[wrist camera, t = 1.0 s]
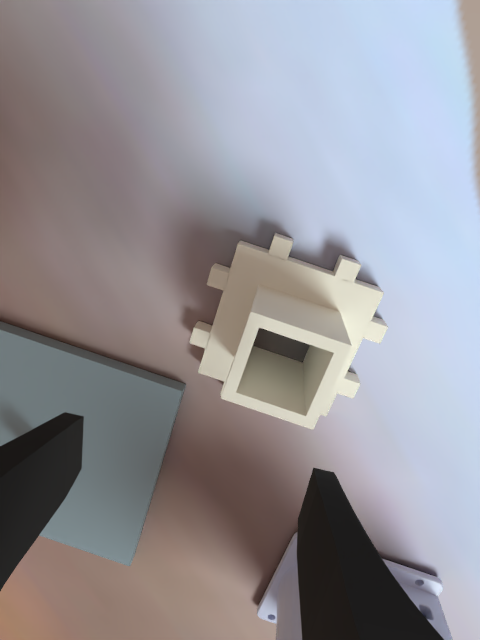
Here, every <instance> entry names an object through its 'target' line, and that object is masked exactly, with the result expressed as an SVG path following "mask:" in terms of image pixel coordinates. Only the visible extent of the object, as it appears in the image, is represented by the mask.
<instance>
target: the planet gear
mask: <svg viewBox="0 0 480 640" xmlns="http://www.w3.org/2000/svg"><path fill="white" fill-rule="evenodd" d="M292 245H293V239H292V238H289V237H286V236H283V235H280V234H277V233H275V235H274V238H273V240H272V243H271V246H270V249H269V250H268V249H265V248H262V247H259V246H256V245H253V244H250V243H247V242H244V241H241V240H240V242H239V243H238V245H237V248H236V251H235V255H234V258H233V261H232V264H231V267H230V268H229V267H226V266H223V265H220V264H217V263H215V264H214V265H213V266H212V267H211V271H210V274H209V278H208V281H207V284H206V285H208V286H211V287H214V288H217V289H220V290H223V293H222V296H221V300H220V303H219V306H218V309H217V313H216V316H215V319H214V322H213V325H210V324H207V323H204V322H201V321H198V322H197V323H196V325H195V327H194V329H193V332H192V336H191V339H190V344H193V345H196V346H199V347H202V348H205V351H204V354H203V358H202V361H201V364H200V367H199V370H198V373H200V374H203V375H206V376H209V377H212V378H215V379H218V380H221V381H224V384H223V387H222V390H221V393H220V395H221V399H224V400H227V401H229V402H232V403H235V404H238V405H241V406H244V407H247V408H250V409H253V410H256V411H259V412H262V413H265V414H268V415H271V416H274V417H277V418H280V419H282V420H285V421H288V422H291V423H294V424H297V425H300V426H303V427H306V428H309V429H312V430H313V429H314V427H315V425H316V423H317V421H318V418H319V416H320V414H321V415H324V416H327V414H328V412H329V410H330V407H331V405H332V403H333V401H334V399H335V397H336V395H337V393H338V394H341V395H344V396H347V397H350V398H354V396H355V394H356V392H357V390H358V388H359V386H360V381H359V378H358V375H357V374H354V373H351V372H348V369H349V367H350V365H351V363H352V360H353V358H354V356H355V354H356V352H357V350H358V348H359V345H360V343H361V341H362V339H363V338H365V339H368V340H371V341H373V342H376V343H379V344H380V343H381V341H382V339H383V337H384V334H385V332H386V330H387V328H388V326H387V324H386V323H385V321H384V320H383V319H380V318H377V317H374V316H373V315H374V313H375V311H376V309H377V307H378V305H379V303H380V301H381V298H382V296H383V294H384V292H383V291H382V290H381V288H380V287H378V286H375V285H372V284H369V283H366V282H363V281H360V280H357V279H356V276H357V274H358V272H359V269H360V267H361V264H360V263H359V262H358V261H357V260H354V259H351V258H348V257H345V256H342V255H339V258H338V260H337V262H336V265H335V267H334V270H333V271H330V270H327V269H324V268H321V267H318V266H315V265H312V264H309V263H306V262H304V261H301V260H298V259H295V258H292V257H289V253H290V250H291V247H292ZM259 328H262V329H265V330H268V331H271V332H274V333H277V334H280V335H283V336H286V337H288V338H291V339H294V340H297V341H300V342H303V343H306V344H309V345H310V346H309V349H308V351H307V354H306V356H305V358H304V361H303V362H300V361H297V360H294V359H291V358H288V357H285V356H282V355H279V354H276V353H273V352H270V351H267V350H264V349H261V348H258V347H255V346H253V343H254V341H255V338H256V335H257V332H258V329H259Z"/></svg>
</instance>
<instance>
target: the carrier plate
mask: <svg viewBox="0 0 480 640" xmlns="http://www.w3.org/2000/svg"><path fill="white" fill-rule="evenodd" d="M185 386H186V384H184V383H181V382H178V381H175V380H172V379H169V378H166V377H163V376H160V375H157V374H154V373H151V372H148V371H145V370H143V369H140V368H137V367H134V366H131V365H128V364H125V363H122V362H119V361H116V360H113V359H110V358H107V357H104V356H101V355H98V354H95V353H92V352H90V351H87V350H84V349H81V348H78V347H75V346H72V345H69V344H66V343H63V342H60V341H57V340H54V339H51V338H48V337H45V336H42V335H39V334H37V333H34V332H31V331H28V330H25V329H22V328H19V327H16V326H13V325H10V324H7V323H4V322H1V321H0V446H2V445H4V444H6V443H8V442H10V441H11V440H13V439H15V438H17V437H19V436H21V435H23V434H25V433H27V432H29V431H30V430H32V429H34V428H36V427H38V426H40V425H41V424H43V423H45V422H47V421H49V420H51V419H53V418H54V417H56V416H58V415H60V414H62V413H64V412H67V413H71V414H76V415H80V416H84V424H83V448H82V469H81V471H80V473H79V475H78V476H77V478H76V480H75V482H74V484H73V486H72V487H71V489H70V491H69V493H68V494H67V496H66V498H65V500H64V501H63V502H62V504H61V505H60V507H59V508H58V510H57V511H56V512H55V514H54V515H53V517H52V518H51V519H50V521H49V522H48V524H47V525H46V526H45V528H44V529H43V530H42V532H41V533H40V536H43V537H46V538H48V539H51V540H54V541H57V542H60V543H63V544H66V545H69V546H72V547H75V548H78V549H81V550H84V551H86V552H89V553H92V554H95V555H98V556H101V557H104V558H107V559H110V560H113V561H116V562H119V563H122V564H124V565H127V566H130V565H131V563H132V560H133V558H134V555H135V552H136V548H137V545H138V542H139V539H140V535H141V532H142V529H143V525H144V522H145V519H146V515H147V512H148V509H149V505H150V502H151V499H152V495H153V492H154V489H155V486H156V482H157V479H158V476H159V472H160V469H161V466H162V462H163V459H164V456H165V452H166V449H167V446H168V442H169V439H170V436H171V433H172V429H173V426H174V423H175V419H176V416H177V413H178V409H179V406H180V403H181V399H182V396H183V393H184V389H185Z"/></svg>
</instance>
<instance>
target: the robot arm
mask: <svg viewBox="0 0 480 640" xmlns="http://www.w3.org/2000/svg"><path fill="white" fill-rule="evenodd" d="M83 424H84V416H80V415H76V414H71V413H67V412H64V413H62V414H60V415H58V416H56V417H54V418H53V419H51V420H49V421H47V422H45V423H43V424H41V425H40V426H38V427H36V428H34V429H32V430H30V431H29V432H27V433H25V434H23V435H21V436H19V437H17V438H15V439H13V440H11V441H10V442H8V443H6V444H4V445H2V446H0V591H1V589H2V587H3V586H4V584H5V582H6V581H7V580H8V578H9V577H10V575H11V574H12V572H13V571H14V569H15V568H16V566H17V565H18V563H19V562H20V561H21V559H22V558H23V557H24V555H25V554H26V552H27V551H28V550H29V548H30V547H31V546H32V544H33V543H34V541H35V540H36V539H37V537H38V536H39V535H40V533H41V532H42V530H43V529H44V528H45V526H46V525H47V524H48V522H49V521H50V519H51V518H52V517H53V515H54V514H55V512H56V511H57V510H58V508H59V507H60V505H61V504H62V502H63V501H64V500H65V498H66V496H67V494H68V493H69V491H70V489H71V487H72V486H73V484H74V482H75V480H76V478H77V476H78V475H79V473H80V471H81V469H82V448H83ZM418 579H419V580H418ZM442 590H443V584H442V581H441V580H440V579H439V578H438V577H435V576H432V575H429V574H426V573H423V572H420V571H417V570H414V569H412V568H409V567H406V566H403V565H400V564H397V563H394V562H391V561H388V560H385V559H382V558H381V556H380V555H379V553H378V552H377V550H376V548H375V547H374V545H373V544H372V542H371V540H370V539H369V537H368V535H367V533H366V532H365V530H364V528H363V527H362V525H361V523H360V521H359V520H358V518H357V516H356V514H355V512H354V510H353V509H352V507H351V505H350V503H349V501H348V499H347V497H346V495H345V493H344V491H343V489H342V487H341V485H340V483H339V481H338V479H337V477H336V475H335V474H334V472H330V471H325V470H321V469H316V468H313V471H312V475H311V478H310V481H309V485H308V488H307V491H306V495H305V498H304V501H303V505H302V508H301V511H300V515H299V518H298V532H296V533H295V534H294V535H293V537H292V539H291V541H290V543H289V545H288V547H287V549H286V551H285V553H284V555H283V557H282V559H281V561H280V563H279V565H278V567H277V569H276V571H275V573H274V575H273V577H272V579H271V581H270V583H269V585H268V587H267V589H266V591H265V593H264V595H263V598H262V600H261V602H260V604H259V606H258V608H257V615H258V616H259V617H260V618H261V619H264V620H267V621H270V622H273V623H275V624H276V640H453V639H452V636H451V633H450V630H449V628H448V625H447V622H446V619H445V616H444V613H443V610H442V607H441V604H440V602H439V599H438V595H439V594H440V593H441V591H442Z"/></svg>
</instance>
